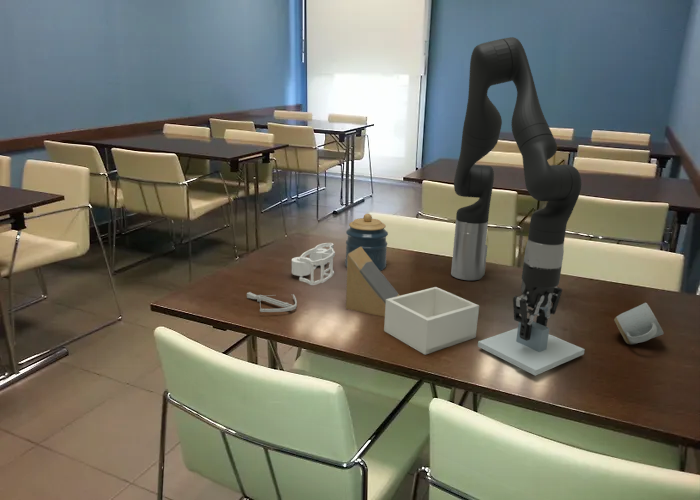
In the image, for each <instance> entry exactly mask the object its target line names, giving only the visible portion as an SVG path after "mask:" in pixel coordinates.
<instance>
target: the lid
mask: <svg viewBox="0 0 700 500" xmlns="http://www.w3.org/2000/svg"><path fill="white" fill-rule="evenodd" d="M517 325H518V326H517V327H516V328H513V329H510V330H508V331H505V332H502V333H498V334H496V335H493V336H490V337H488V338H484V339H482V340H478V343H477V347H478V348H480V349H483V350H484V351H486V352H488V353H490V354H491V355H494V356H495V357H498V358H500V359H502V360H504V361H505V362H508V363H510V364H511V365H514V366H516V367H517V368H520V369H521V370H523V371H524V372H527V373H529V374H531V375H533V376H537V375H539V374H542V373H544V372H547V371H549V370H551V369H553V368H556V367H558V366H560V365H563V364H565V363H567V362H570V361H572V360H574V359H576V358H579V357H581V356H583V355H584V354H585V352H586V350H585V348H584V347H581V346H578V345H575V344H574V343H571V342H569V341H566V340H564V339H562V338H559V337H557V336H555V335H552V334H550V327H548V326H543V325H541V324H539V323H536V321H534V320H533V322H532V329H531V336H530V340H528V341H526V340H524V339H521V338H520V335H519V334H520V326H521V323H520V322H518V323H517Z"/></svg>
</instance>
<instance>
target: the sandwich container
mask: <svg viewBox="0 0 700 500" xmlns="http://www.w3.org/2000/svg"><path fill="white" fill-rule="evenodd" d="M345 290H346V295H345V298H346V299H345V309H346V310H351V311H355V312H360V313H364V314H370V315H374V316H379V317H384V318H385V306H386V299H389V298H393V297H397V296H401V295H400V294H399V293H398V291H397V290H396V289H395V287H394V286H393V285H392V284H391V282H390V281H389V280H388V279H387V277H386V276H385V275H384V274H383V273H382V270H381V271H380V270H379V269H378V268H377V266H376V265H375V264H374V263H373V261H372V260H371V259H370V257H369V256H368V255H367V254H366V252H365V251H364V250H363V248H362V247H359V248H357V249H355V250H354V251H352V252H350V253H349V254H348V255H347V267H346V289H345Z"/></svg>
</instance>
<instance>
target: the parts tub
mask: <svg viewBox="0 0 700 500" xmlns="http://www.w3.org/2000/svg"><path fill="white" fill-rule="evenodd" d="M479 311H480V305H479V304H476V303H474V302H472V301H470V300H468V299H465V298H462V297H461V296H458V295H456V294H455V293H452V292H449V291H446V290H444V289H442V288H439V287H437V286H434V287H433V286H432V287H430V288H429V287H428V288H426V289H422V290H421V289H420V290H418V291H413V292H410V293H406V294H401V295H400V296H397V297H393V298H389V299H386V306H385V317H384V323H383V324H384V327H383V332H385V333H387V334H388V335H391V336H392V337H394V338H396V340H399V341H400V342H402V343H404V344H406V345H407V346H408V347H409V346H410V347H411V348H412V349H415V350H416V351H418V352H419V353H421V354H423V355H424V356H425V355H426V356H427V355H428V354H431V353H435V352H437V351H441V350H443V349H446V348H450V347H452V346H455V345H458V344H461V343H463V342H467V341H469V340H470V341H471V340H472V339H476V336H477V328H478V321H479V320H478V319H479Z"/></svg>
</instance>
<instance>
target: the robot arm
mask: <svg viewBox="0 0 700 500" xmlns="http://www.w3.org/2000/svg"><path fill="white" fill-rule="evenodd" d="M469 63H470V64H469V75H468V76H469V78H468V80H469V81H468V94H467V95H468V96H467V103H466V111H465V116H464V121H463V127H462V135H461V142H460V143H461V144H460V145H461V146H460V152H459V158H458V162H457V164H456V165H457V166H456V170H455V172H454V173H455V174H454V180H453V188H454V192H455V194H456V195H457V196H460V197H463V198H475V199H476V198H477V201H475V202H474V203H471V204H469V205H467V206H462V207H461V208H458V209H457V210H456V217H455V228H454V238H453V241H454V242H453V250H452V260H451V271H450V275H451V276H452V277H454V278H455V279H459V280H462V281H463V280H464V281H478V280H481V279H482V278H483V277H484V276H485V272H486V263H487V253H488V245H487V237H488V236H487V235H488V228H489V226H488V225H489V215H490V207H491V201H492V194H493V187H494V179H495V171H494V169H493V167H492V166H491V165H484V164H483V165H482V164H480V165H479V164H476V163H478V161H480V160H481V159H483V158H484V157H485V156H487V155H488V154H489V153H490V152H491V151H493V150H494V148H496V145H497V144H498V142H499V139H500V134H501V129H502V125H503V121H502V116H501V113H500V112H499V110H498V109H497V107H496V105H495V104H494V103H493V102H492V101H491V99H490V98H489V96H488V91H489V89H490V88H491V87H492V86H495V85H500V84H503V83H508V82H513V84H514V86H515V89H516V100H515V105H514V109H513V112H512V113H513V114H512V116H511V117H512V118H511V131H512V136H513V138H514V141H515V143H516V145H517V147H518V150H519V152H520V154H521V156H522V165H523V175H524V183H525V187H526V190H527V192H528V194H529V195H530V196H531V197H532V198H533V199H535V200H536V201H538V202H547V203H546V206H544V208H541V209H542V210H540V211H537V212H535V211H534V212H535V213H534V212H533V213H532V215H531V217H530V222H529V228H528V237H527V242H526V245H525V249H524V257H523V265H522V271H521V273H522V274H521V282H522V281H523V282H524V283H525V289H524V291H523V295H522V294H521V295H520V296H518V295H514V296H513V297H512V303H513V319H514V321H516V322H518V323H519V322H520V323H521V326H520V334H519V335H520V338H521V339H524V340H526V341H528V340H530V336H531V329H532V322H533V321H534V319H535V316H536V320H535V322H536V323H539V324H541V325H543V326H546V327H548V319H550V318H551V315H555V314H556V311H557V308H558V305H559V302H560V299H561V295H562V292H563V289H562V288H561V287H558V286H559V285H560V279H561V274H562V267H563V259H564V254H565V253H564V252H565V249H564V248H565V247H564V245H565V237H566V232H567V225H568V222H569V220H570V217H571V216H572V213H573V211H574V209H575V206H576V203H577V201H578V200H579V196H580V193H581V190H582V178H581V174H580V172H579V170H578V169H577V168H576V167H575V166H573V165H570V164H551V165H550V164H549V162H548V160H550V159H552V158H553V156H554V155H555V154H556V153H557V151H558V144H557V142H556V139H555V137H554V134H553V132H552V130H551V128H550V126H549V124H548V122H547V119H546V118H545V115H544V113H543V110H542V107H541V104H540V99H539V96H538V92H537V89H536V84H535V80H534V76H533V74H532V70H531V66H530V64H529V59H528V55H527V53H526V50H525V49H524V46H523V44H522V43H521V40H519V39H518V38H517V37H513V36H512V37H504V38H500V39H496V40H495V39H494V40H491V41H490V40H489V41H486V42H482V43H480V44H477V45H475V47H474V48H473V50H472V52H471V56H470V62H469ZM528 307H529V308H528ZM528 314H529V315H528Z"/></svg>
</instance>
